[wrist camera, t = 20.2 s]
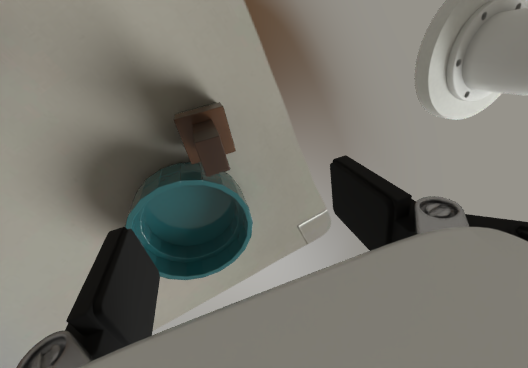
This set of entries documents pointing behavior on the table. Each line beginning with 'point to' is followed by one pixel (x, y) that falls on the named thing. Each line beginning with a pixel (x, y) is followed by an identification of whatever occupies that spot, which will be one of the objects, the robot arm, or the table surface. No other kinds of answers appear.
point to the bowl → (190, 221)
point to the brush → (206, 137)
